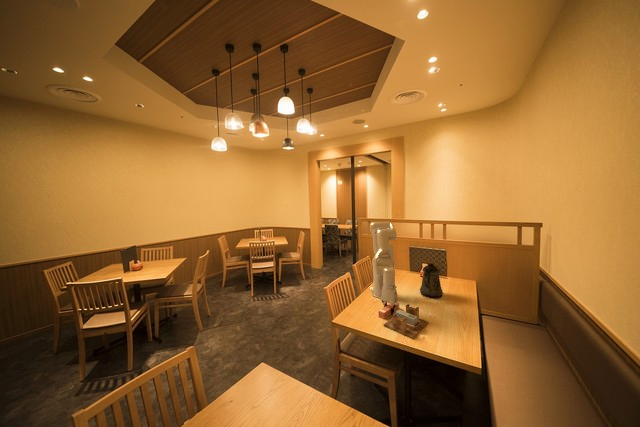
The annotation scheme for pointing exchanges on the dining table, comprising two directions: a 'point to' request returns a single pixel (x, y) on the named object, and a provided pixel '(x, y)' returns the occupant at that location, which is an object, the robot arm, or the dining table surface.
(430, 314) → the dining table surface
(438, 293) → the black backpack
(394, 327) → the jig
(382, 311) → the orange banded bar
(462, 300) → the dining table surface
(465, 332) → the dining table surface
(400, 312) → the grey rectangular block
